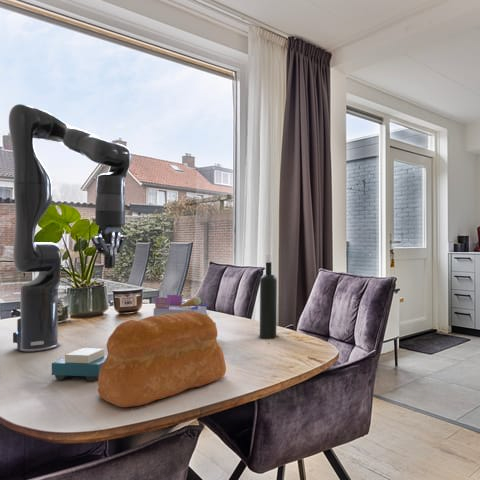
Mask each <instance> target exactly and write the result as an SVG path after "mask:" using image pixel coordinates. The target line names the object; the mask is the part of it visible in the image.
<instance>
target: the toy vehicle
mask: <svg viewBox="0 0 480 480" xmlns="http://www.w3.org/2000/svg"><path fill="white" fill-rule="evenodd" d="M182 299H183V295H182V294H180V295H179V294H167V295H166V297H161V296H160V297H156V296H155V297H154V308H153V316H157V315H162V314H173V313H182V312H185V311H193V312H198V313H202V314H205V315H207V316H208V312H207V306H208V303H202V304H201V302H202V300H201V299H202V298H200V297H199V296H194V297H192V298H190V299H188V300H189V301H187V302H185V303H184V304H182ZM213 322H214V323H215V325H216V326H217V323H216V322H215V321H213Z"/></svg>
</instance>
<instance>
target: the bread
mask: <svg viewBox="0 0 480 480" xmlns="http://www.w3.org/2000/svg"><path fill="white" fill-rule="evenodd" d="M214 322H215V321H214V320H213V319H212V318H211V317H210V316H209V315H208V314H207V315H205V314H202V313H198V312H193V311H185V312H182V313H173V314H162V315H157V316H154V315H150V316H147V317H144V318H142V319H139V320H136V319H135V320H134V319H129V320H126V321H122V323H119V325H117V326H116V327H115V328H114V330H113V331H112V333H111V334H110V336H109V337H108V339H107V342H106V351H107V355H106V356H107V357H106V359H105V361H104V362H103V364H102V367H101V369H100V372H99V377H98V379H97V380H98V381H97V382H98V387H97V392H98V395H99V397H100V398H101V399H103V401H105V402H107V403H110V404H112V405H114V406H116V407H119V408H131V407H137V406H138V407H139V406H143V405H146V404H149V403H152V402H154V401H156V400H161V399H164V398H167V397H173V396H175V395H178V394H180V393H182V392H184V391H186V390H188V389H194V388H198V387H202V386H204V385H208V384H211V383H213V382H215V381H218V380H220V379H222V378H223V377H224V376H225V375H226V372H227V365H226V360H225V355H224V352H223V349H222V347H221V346H220V344H219V342H218V340H217V337H218V328H217V324H216V325H215V323H216V322H215V323H214Z"/></svg>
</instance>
